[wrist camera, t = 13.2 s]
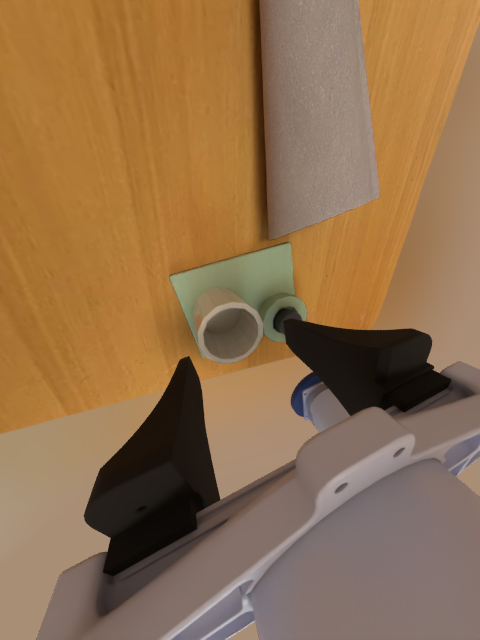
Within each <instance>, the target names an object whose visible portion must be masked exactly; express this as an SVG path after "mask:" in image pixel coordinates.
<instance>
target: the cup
mask: <svg viewBox="0 0 480 640" xmlns="http://www.w3.org/2000/svg"><path fill="white" fill-rule="evenodd" d="M193 319H194V325H195V330H196V335H197V340H198V345H199V348H200V349H201V350H202V352H203V353H204V354H205V356H206V357H207V358H209V359H211V360H214V361H216V362H218V363H234V362H236V361H239V360H241V359H244V358H246V357H247V356H248V355H249V354H251V353H252V352H253V351H254V350H255V349H256V348H257V346H258V344H259V342H260V340H261V338H262V336H263V322H262V320H261V317H260V315H259V313H258V312H257V310H255V309H254V308H253V307H252V306H251V305H250V304H248V303H247V302H246V301H245V300H244V299H243V298H241V297H240V296H239V295H238V294H236V293H235V292H234V291H232V290H231V289H228V288H224V287H214V288H211V289H208V290H206V291H204V292H203V293H202V294H201V295H200V296H199V297H198V298H197V300H196V301H195V304H194V307H193Z"/></svg>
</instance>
